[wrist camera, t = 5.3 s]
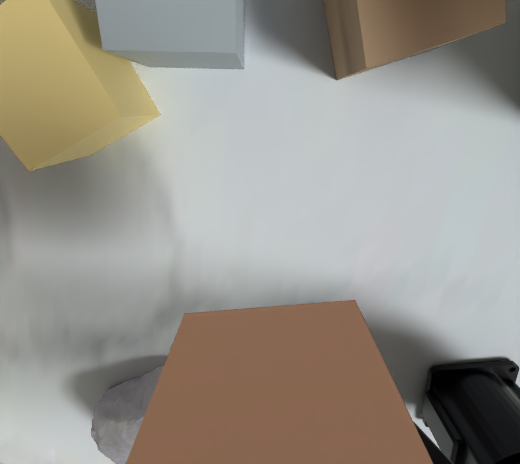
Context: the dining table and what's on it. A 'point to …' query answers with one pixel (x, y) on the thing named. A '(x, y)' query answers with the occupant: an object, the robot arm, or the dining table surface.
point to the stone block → (123, 415)
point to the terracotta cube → (277, 392)
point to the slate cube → (174, 32)
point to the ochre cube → (63, 84)
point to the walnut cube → (401, 28)
